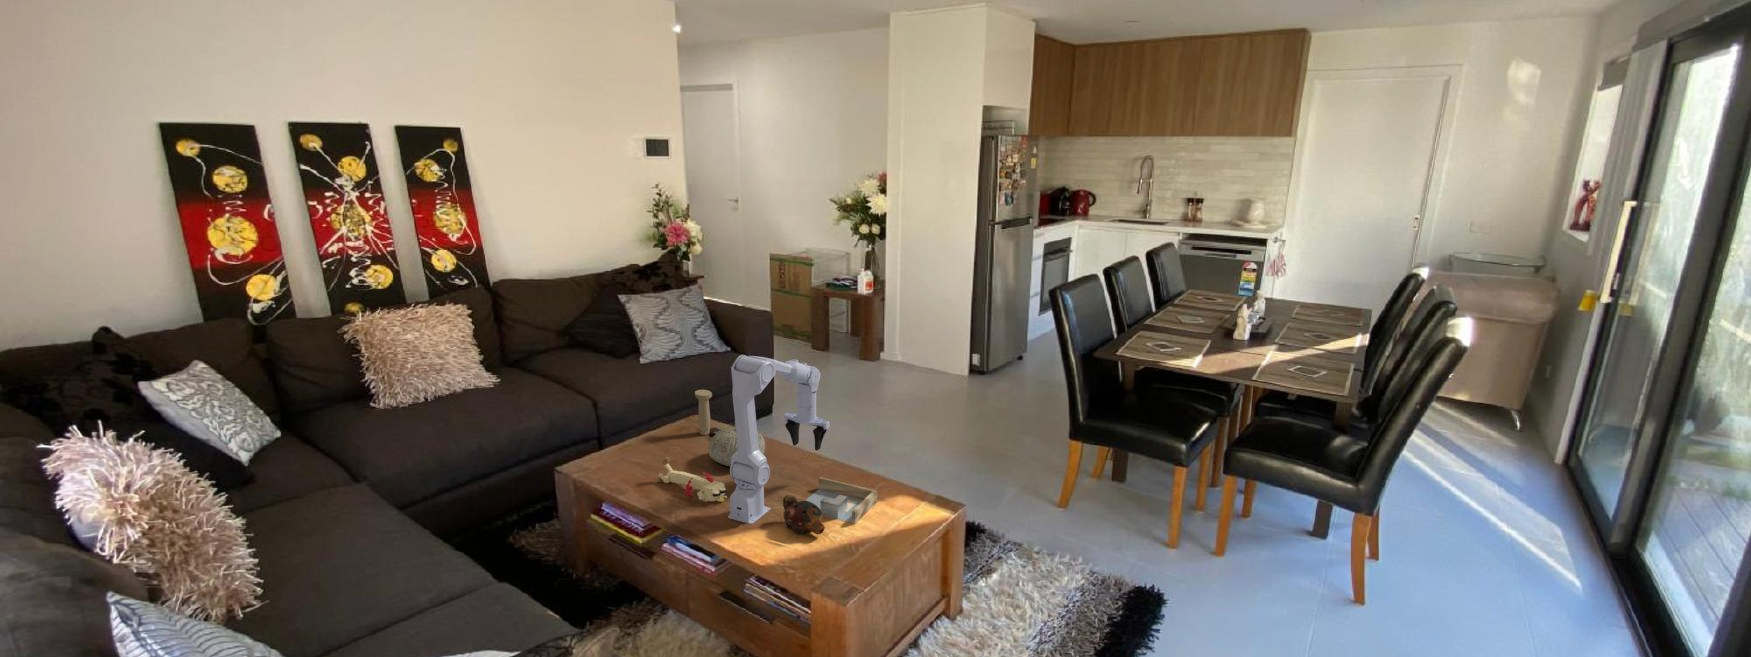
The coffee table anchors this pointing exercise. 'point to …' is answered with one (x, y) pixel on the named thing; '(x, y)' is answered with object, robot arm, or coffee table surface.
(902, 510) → the coffee table surface
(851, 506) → the board
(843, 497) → the bracket
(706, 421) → the handle
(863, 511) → the walls
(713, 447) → the decorative shell
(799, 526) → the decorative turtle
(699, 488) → the cream blocky elongated figure
